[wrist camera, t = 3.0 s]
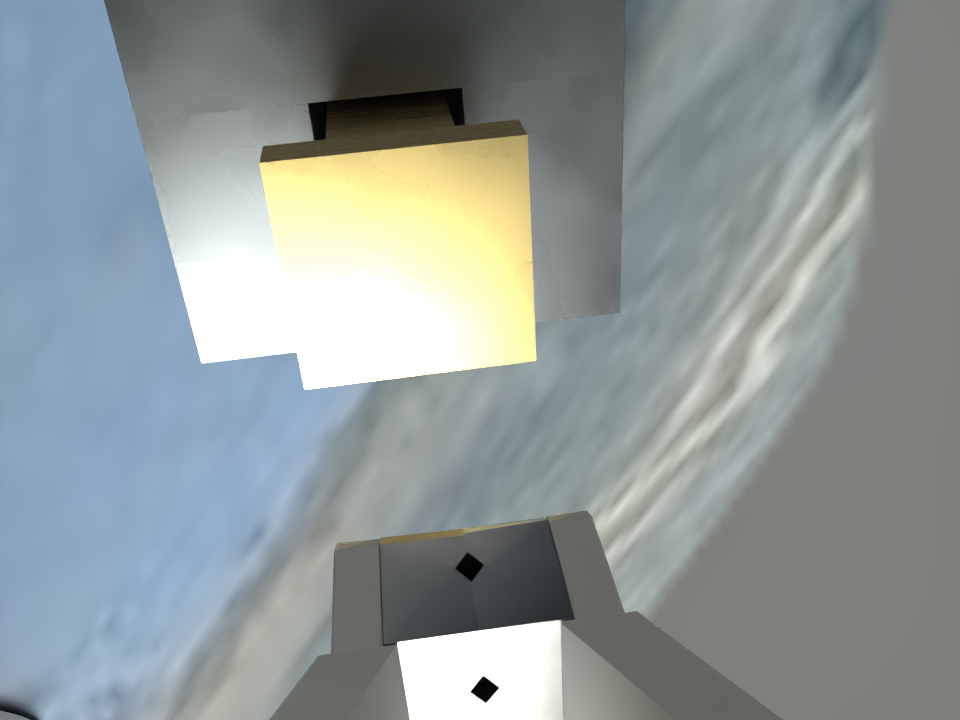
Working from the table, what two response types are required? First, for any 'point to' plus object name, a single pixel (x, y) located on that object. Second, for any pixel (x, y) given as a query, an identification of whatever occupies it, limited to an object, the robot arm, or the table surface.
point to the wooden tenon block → (403, 241)
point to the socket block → (357, 74)
